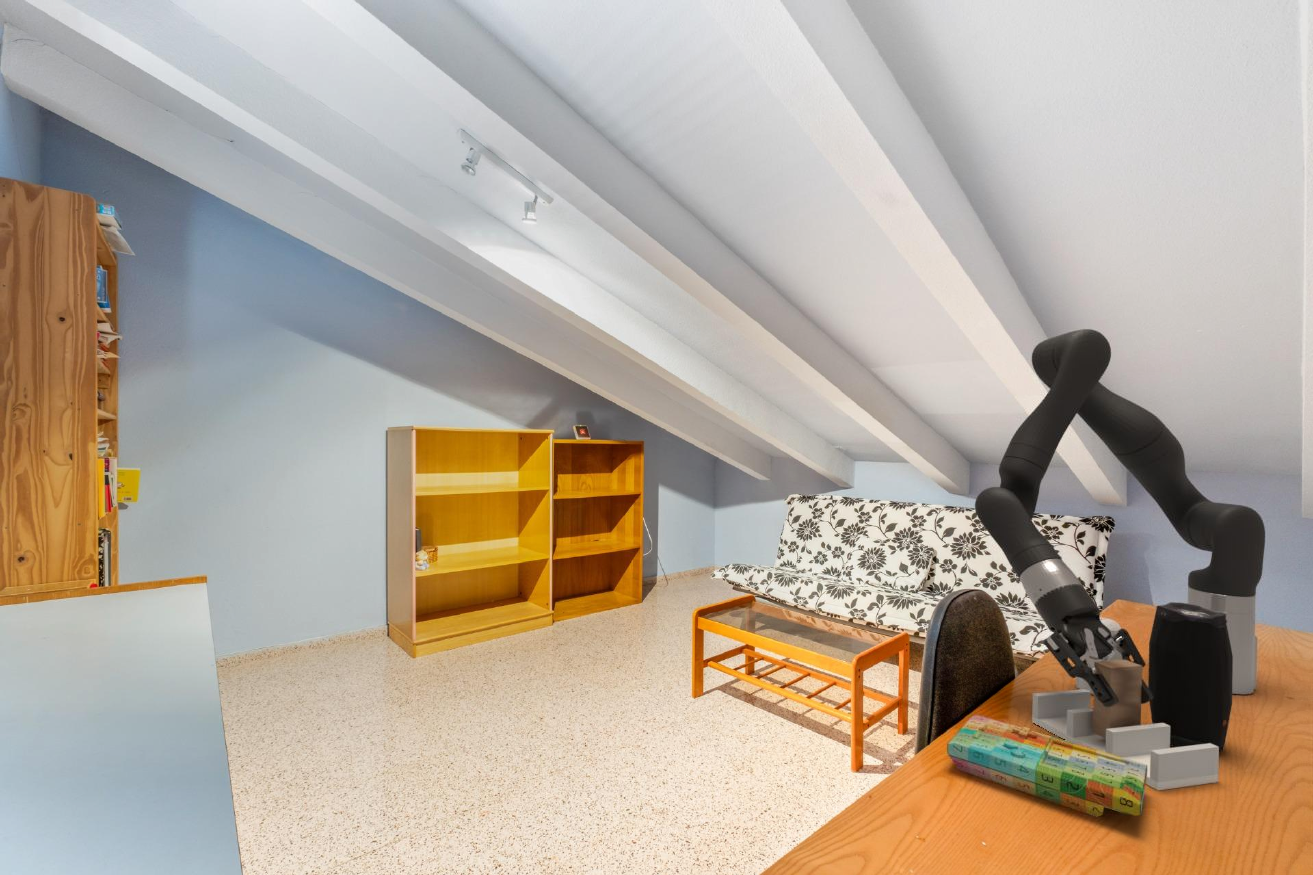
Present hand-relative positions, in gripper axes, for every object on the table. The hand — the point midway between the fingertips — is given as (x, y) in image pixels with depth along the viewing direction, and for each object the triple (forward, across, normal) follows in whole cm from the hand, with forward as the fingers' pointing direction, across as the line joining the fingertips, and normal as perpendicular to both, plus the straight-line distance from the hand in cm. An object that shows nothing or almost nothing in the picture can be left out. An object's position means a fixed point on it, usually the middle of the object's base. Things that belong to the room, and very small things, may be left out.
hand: (1129, 702), depth 87 cm
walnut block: (+2, 0, +5) cm, 6 cm away
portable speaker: (+4, +13, +6) cm, 15 cm away
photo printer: (-9, +19, +20) cm, 29 cm away
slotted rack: (+4, 0, +6) cm, 8 cm away
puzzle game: (+8, -18, +3) cm, 19 cm away
